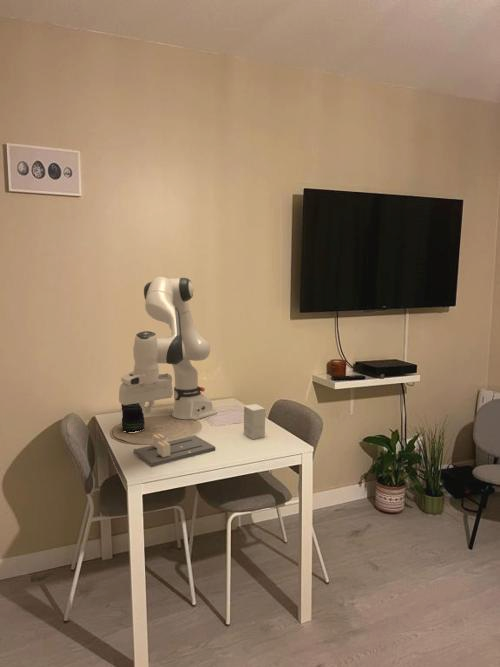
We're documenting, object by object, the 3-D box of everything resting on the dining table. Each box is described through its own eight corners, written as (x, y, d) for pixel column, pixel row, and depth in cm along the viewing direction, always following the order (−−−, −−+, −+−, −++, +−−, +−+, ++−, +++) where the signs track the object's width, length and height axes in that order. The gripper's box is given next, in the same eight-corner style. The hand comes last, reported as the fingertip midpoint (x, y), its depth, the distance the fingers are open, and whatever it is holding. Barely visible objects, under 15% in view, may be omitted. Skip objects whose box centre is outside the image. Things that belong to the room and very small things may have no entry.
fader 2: (164, 451, 194) (164, 439, 194) (170, 455, 190) (170, 443, 190) (157, 453, 193) (157, 441, 192) (163, 457, 189) (163, 445, 188)
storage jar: (149, 429, 224) (148, 397, 222) (130, 435, 217) (129, 401, 215) (135, 424, 231) (135, 393, 228) (117, 429, 223) (116, 397, 221)
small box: (265, 437, 216) (265, 408, 214) (252, 439, 213) (252, 410, 211) (255, 431, 223) (256, 403, 221) (243, 434, 220) (243, 405, 218)
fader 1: (159, 444, 202) (159, 433, 201) (165, 447, 198) (165, 436, 197) (152, 445, 200) (152, 434, 199) (158, 449, 196) (158, 438, 195)
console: (195, 438, 214) (195, 434, 213) (215, 450, 201) (215, 446, 201) (133, 453, 197) (133, 449, 197) (151, 466, 184) (151, 462, 184)
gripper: (167, 371, 192) (168, 406, 194) (116, 377, 179) (117, 415, 181) (175, 374, 187) (175, 410, 189) (123, 381, 174) (124, 419, 176)
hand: (146, 412), depth 185 cm, fingers closed
